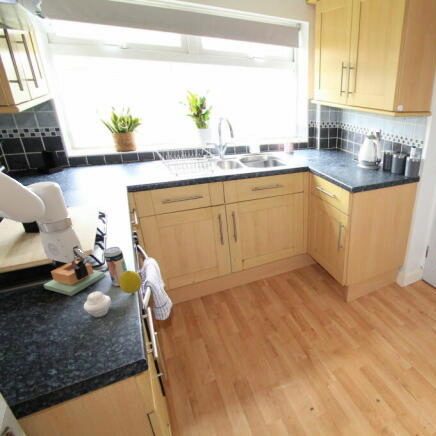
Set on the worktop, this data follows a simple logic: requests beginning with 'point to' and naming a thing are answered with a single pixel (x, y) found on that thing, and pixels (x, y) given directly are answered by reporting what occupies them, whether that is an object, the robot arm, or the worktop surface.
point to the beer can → (115, 264)
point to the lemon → (130, 282)
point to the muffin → (97, 304)
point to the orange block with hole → (69, 273)
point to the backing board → (75, 287)
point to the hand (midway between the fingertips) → (73, 274)
